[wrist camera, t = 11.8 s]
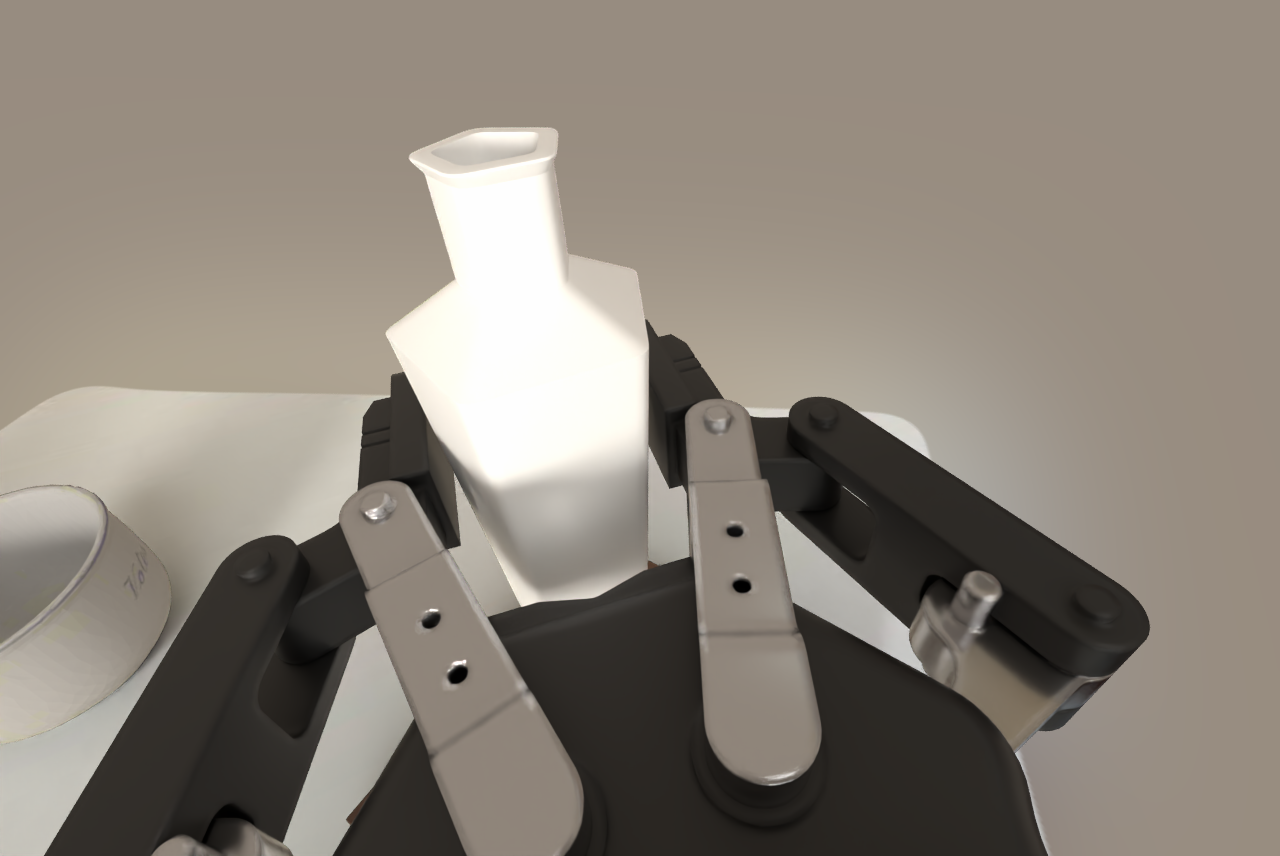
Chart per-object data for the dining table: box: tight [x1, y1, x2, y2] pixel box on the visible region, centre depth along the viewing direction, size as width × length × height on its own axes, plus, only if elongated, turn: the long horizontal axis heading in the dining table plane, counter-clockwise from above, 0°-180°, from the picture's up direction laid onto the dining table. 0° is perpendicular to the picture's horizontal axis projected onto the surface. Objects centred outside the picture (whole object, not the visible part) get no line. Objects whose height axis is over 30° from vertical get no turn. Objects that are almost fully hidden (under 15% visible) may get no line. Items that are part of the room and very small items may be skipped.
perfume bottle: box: [386, 127, 649, 607], centre depth 13 cm, size 5×4×15 cm
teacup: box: [0, 485, 172, 744], centre depth 29 cm, size 14×11×8 cm
